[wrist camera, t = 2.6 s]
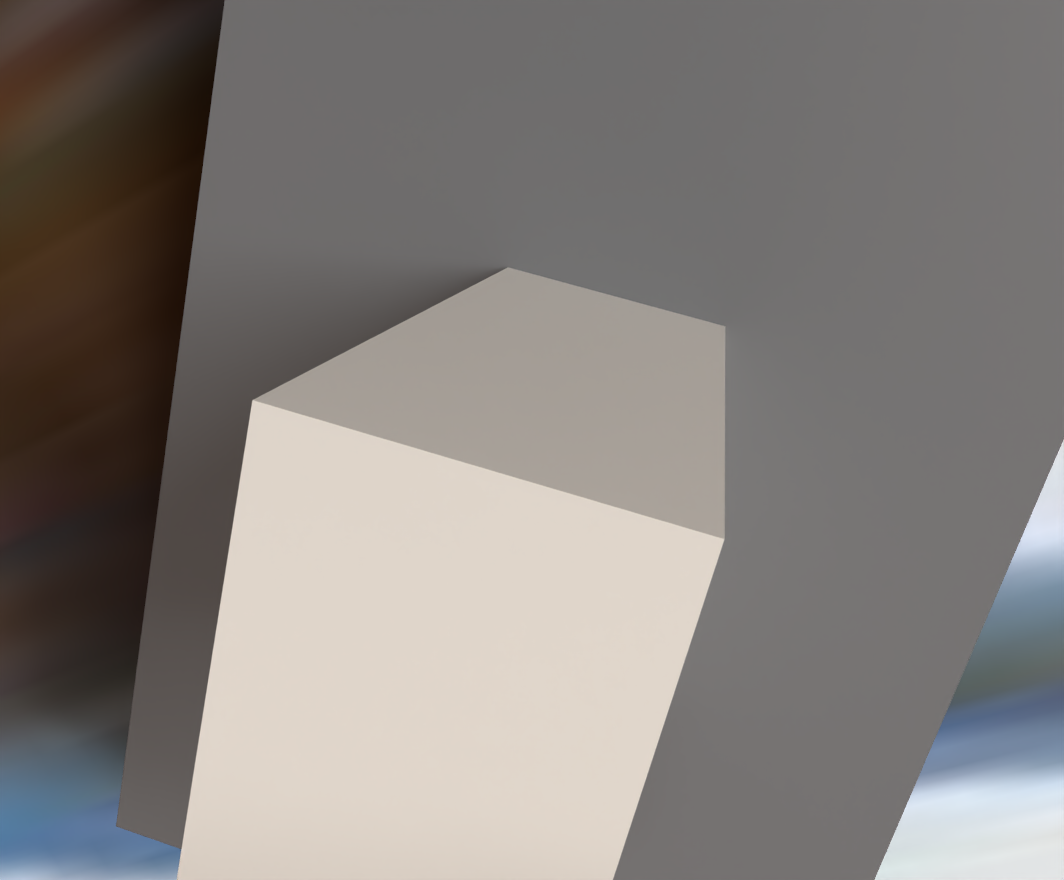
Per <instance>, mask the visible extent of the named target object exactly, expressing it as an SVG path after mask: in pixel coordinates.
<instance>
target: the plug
mask: <svg viewBox="0 0 1064 880" xmlns="http://www.w3.org/2000/svg"><path fill="white" fill-rule="evenodd" d="M724 539H725V326H722V325H719V324H715V323H711V322H708V321H704V320H700V319H697V318H693V317H689V316H685V315H682V314H678V313H674V312H671V311H667V310H663V309H660V308H656V307H652V306H649V305H645V304H641V303H638V302H634V301H630V300H627V299H623V298H619V297H616V296H612V295H608V294H604V293H601V292H597V291H593V290H590V289H586V288H582V287H579V286H575V285H571V284H568V283H564V282H560V281H557V280H553V279H549V278H546V277H542V276H538V275H535V274H531V273H527V272H523V271H520V270H516V269H512V268H509V267H508V268H506V269H504V270H502V271H500V272H498V273H496V274H494V275H492V276H490V277H488V278H487V279H485V280H483V281H481V282H479V283H477V284H475V285H473V286H471V287H469V288H467V289H465V290H463V291H461V292H460V293H458V294H456V295H454V296H452V297H450V298H448V299H446V300H444V301H442V302H440V303H438V304H436V305H435V306H433V307H431V308H429V309H427V310H425V311H423V312H421V313H419V314H417V315H415V316H413V317H411V318H410V319H408V320H406V321H404V322H402V323H400V324H398V325H396V326H394V327H392V328H390V329H388V330H386V331H385V332H383V333H381V334H379V335H377V336H375V337H373V338H371V339H369V340H367V341H365V342H363V343H361V344H360V345H358V346H356V347H354V348H352V349H350V350H348V351H346V352H344V353H342V354H340V355H338V356H336V357H334V358H333V359H331V360H329V361H327V362H325V363H323V364H321V365H319V366H317V367H315V368H313V369H311V370H309V371H308V372H306V373H304V374H302V375H300V376H298V377H296V378H294V379H292V380H290V381H288V382H286V383H284V384H283V385H281V386H279V387H277V388H275V389H273V390H271V391H269V392H267V393H265V394H263V395H261V396H259V397H258V398H256V399H254V400H252V406H251V413H250V419H249V425H248V432H247V438H246V444H245V451H244V457H243V463H242V470H241V476H240V482H239V489H238V495H237V501H236V508H235V514H234V520H233V527H232V533H231V539H230V546H229V552H228V558H227V565H226V571H225V577H224V584H223V590H222V596H221V603H220V609H219V615H218V622H217V628H216V634H215V641H214V647H213V653H212V660H211V666H210V672H209V679H208V685H207V691H206V698H205V704H204V710H203V717H202V723H201V729H200V736H199V742H198V748H197V755H196V761H195V767H194V774H193V780H192V786H191V793H190V799H189V805H188V812H187V818H186V824H185V831H184V837H183V843H182V850H181V856H180V862H179V869H178V875H177V880H613V878H614V875H615V872H616V869H617V866H618V863H619V860H620V856H621V853H622V850H623V847H624V844H625V841H626V838H627V835H628V832H629V829H630V826H631V823H632V820H633V817H634V814H635V811H636V808H637V805H638V802H639V799H640V795H641V792H642V789H643V786H644V783H645V780H646V777H647V774H648V771H649V768H650V765H651V762H652V759H653V756H654V753H655V750H656V747H657V744H658V741H659V738H660V734H661V731H662V728H663V725H664V722H665V719H666V716H667V713H668V710H669V707H670V704H671V701H672V698H673V695H674V692H675V689H676V686H677V683H678V680H679V677H680V673H681V670H682V667H683V664H684V661H685V658H686V655H687V652H688V649H689V646H690V643H691V640H692V637H693V634H694V631H695V628H696V625H697V622H698V619H699V616H700V612H701V609H702V606H703V603H704V600H705V597H706V594H707V591H708V588H709V585H710V582H711V579H712V576H713V573H714V570H715V567H716V564H717V561H718V558H719V555H720V551H721V548H722V545H723V542H724Z"/></svg>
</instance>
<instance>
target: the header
mask: <svg viewBox="0 0 1064 880" xmlns="http://www.w3.org/2000/svg"><path fill="white" fill-rule="evenodd" d="M508 267H509V268H512V269H516V270H520V271H523V272H527V273H531V274H535V275H538V276H542V277H546V278H549V279H553V280H557V281H560V282H564V283H568V284H571V285H575V286H579V287H582V288H586V289H590V290H593V291H597V292H601V293H604V294H608V295H612V296H616V297H619V298H623V299H627V300H630V301H634V302H638V303H641V304H645V305H649V306H652V307H656V308H660V309H663V310H667V311H671V312H674V313H678V314H682V315H685V316H689V317H693V318H697V319H700V320H704V321H708V322H711V323H715V324H719V325H722V326H725V539H724V542H723V545H722V548H721V551H720V555H719V558H718V561H717V564H716V567H715V570H714V573H713V576H712V579H711V582H710V585H709V588H708V591H707V594H706V597H705V600H704V603H703V606H702V609H701V612H700V616H699V619H698V622H697V625H696V628H695V631H694V634H693V637H692V640H691V643H690V646H689V649H688V652H687V655H686V658H685V661H684V664H683V667H682V670H681V673H680V677H679V680H678V683H677V686H676V689H675V692H674V695H673V698H672V701H671V704H670V707H669V710H668V713H667V716H666V719H665V722H664V725H663V728H662V731H661V734H660V738H659V741H658V744H657V747H656V750H655V753H654V756H653V759H652V762H651V765H650V768H649V771H648V774H647V777H646V780H645V783H644V786H643V789H642V792H641V795H640V799H639V802H638V805H637V808H636V811H635V814H634V817H633V820H632V823H631V826H630V829H629V832H628V835H627V838H626V841H625V844H624V847H623V850H622V853H621V856H620V860H619V863H618V866H617V869H616V872H615V875H614V878H613V880H874V879H875V877H876V874H877V872H878V870H879V867H880V865H881V863H882V860H883V858H884V856H885V853H886V851H887V849H888V846H889V844H890V842H891V840H892V837H893V835H894V833H895V830H896V828H897V826H898V823H899V821H900V819H901V816H902V814H903V812H904V809H905V807H906V805H907V802H908V800H909V798H910V795H911V793H912V791H913V788H914V786H915V784H916V781H917V779H918V777H919V774H920V772H921V770H922V767H923V765H924V763H925V760H926V758H927V756H928V753H929V751H930V749H931V746H932V744H933V742H934V739H935V737H936V735H937V732H938V730H939V728H940V725H941V723H942V721H943V719H944V716H945V714H946V712H947V709H948V707H949V705H950V702H951V700H952V698H953V695H954V693H955V691H956V688H957V686H958V684H959V681H960V679H961V677H962V674H963V672H964V670H965V667H966V665H967V663H968V660H969V658H970V656H971V653H972V651H973V649H974V646H975V644H976V642H977V639H978V637H979V635H980V632H981V630H982V628H983V625H984V623H985V621H986V618H987V616H988V614H989V611H990V609H991V607H992V604H993V602H994V600H995V597H996V595H997V593H998V591H999V588H1000V586H1001V584H1002V581H1003V579H1004V577H1005V574H1006V572H1007V570H1008V567H1009V565H1010V563H1011V560H1012V558H1013V556H1014V553H1015V551H1016V549H1017V546H1018V544H1019V542H1020V539H1021V537H1022V535H1023V532H1024V530H1025V528H1026V525H1027V523H1028V521H1029V518H1030V516H1031V514H1032V511H1033V509H1034V507H1035V504H1036V502H1037V500H1038V497H1039V495H1040V493H1041V490H1042V488H1043V486H1044V483H1045V481H1046V479H1047V476H1048V474H1049V472H1050V469H1051V467H1052V465H1053V463H1054V460H1055V458H1056V456H1057V453H1058V451H1059V449H1060V446H1061V444H1062V442H1063V439H1064V0H225V2H224V10H223V17H222V25H221V32H220V40H219V48H218V55H217V63H216V70H215V78H214V86H213V93H212V101H211V108H210V116H209V124H208V131H207V139H206V146H205V154H204V162H203V169H202V177H201V184H200V192H199V200H198V207H197V215H196V222H195V230H194V238H193V245H192V253H191V260H190V268H189V276H188V283H187V291H186V298H185V306H184V314H183V321H182V329H181V337H180V344H179V352H178V359H177V367H176V375H175V382H174V390H173V397H172V405H171V413H170V420H169V428H168V435H167V443H166V451H165V458H164V466H163V473H162V481H161V489H160V496H159V504H158V511H157V519H156V527H155V534H154V542H153V549H152V557H151V565H150V572H149V580H148V587H147V595H146V603H145V610H144V618H143V625H142V633H141V641H140V648H139V656H138V663H137V671H136V679H135V686H134V694H133V702H132V709H131V717H130V724H129V732H128V740H127V747H126V755H125V762H124V770H123V778H122V785H121V793H120V800H119V808H118V816H117V823H116V826H117V827H120V828H123V829H125V830H128V831H131V832H134V833H137V834H140V835H143V836H145V837H148V838H151V839H154V840H157V841H160V842H163V843H166V844H168V845H171V846H174V847H177V848H180V849H182V843H183V837H184V831H185V824H186V818H187V812H188V805H189V799H190V793H191V786H192V780H193V774H194V767H195V761H196V755H197V748H198V742H199V736H200V729H201V723H202V717H203V710H204V704H205V698H206V691H207V685H208V679H209V672H210V666H211V660H212V653H213V647H214V641H215V634H216V628H217V622H218V615H219V609H220V603H221V596H222V590H223V584H224V577H225V571H226V565H227V558H228V552H229V546H230V539H231V533H232V527H233V520H234V514H235V508H236V501H237V495H238V489H239V482H240V476H241V470H242V463H243V457H244V451H245V444H246V438H247V432H248V425H249V419H250V413H251V406H252V400H254V399H256V398H258V397H259V396H261V395H263V394H265V393H267V392H269V391H271V390H273V389H275V388H277V387H279V386H281V385H283V384H284V383H286V382H288V381H290V380H292V379H294V378H296V377H298V376H300V375H302V374H304V373H306V372H308V371H309V370H311V369H313V368H315V367H317V366H319V365H321V364H323V363H325V362H327V361H329V360H331V359H333V358H334V357H336V356H338V355H340V354H342V353H344V352H346V351H348V350H350V349H352V348H354V347H356V346H358V345H360V344H361V343H363V342H365V341H367V340H369V339H371V338H373V337H375V336H377V335H379V334H381V333H383V332H385V331H386V330H388V329H390V328H392V327H394V326H396V325H398V324H400V323H402V322H404V321H406V320H408V319H410V318H411V317H413V316H415V315H417V314H419V313H421V312H423V311H425V310H427V309H429V308H431V307H433V306H435V305H436V304H438V303H440V302H442V301H444V300H446V299H448V298H450V297H452V296H454V295H456V294H458V293H460V292H461V291H463V290H465V289H467V288H469V287H471V286H473V285H475V284H477V283H479V282H481V281H483V280H485V279H487V278H488V277H490V276H492V275H494V274H496V273H498V272H500V271H502V270H504V269H506V268H508Z"/></svg>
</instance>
